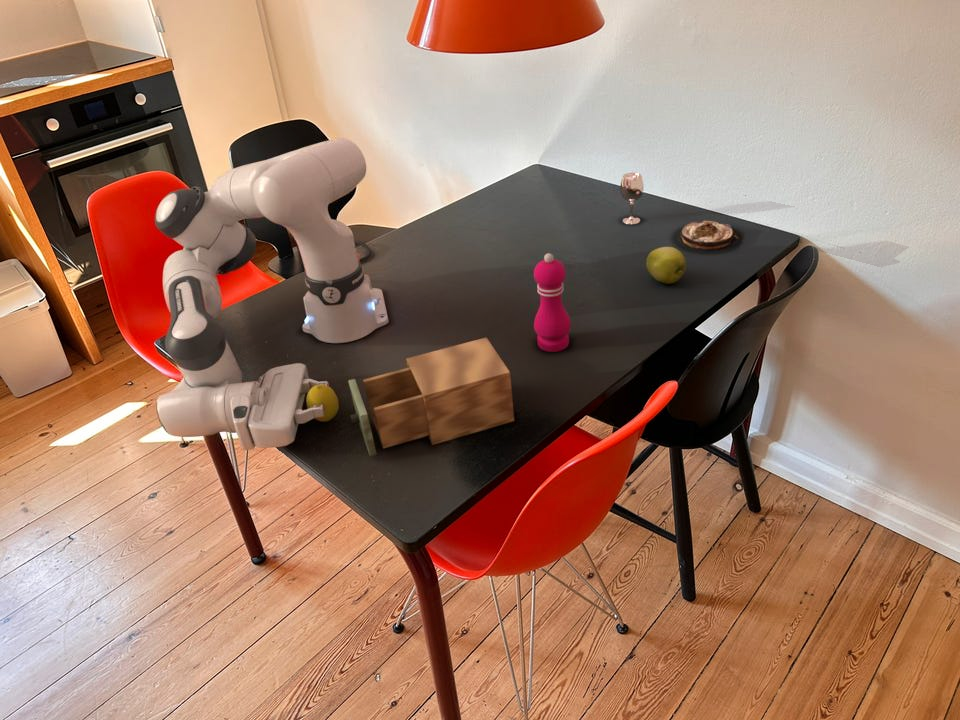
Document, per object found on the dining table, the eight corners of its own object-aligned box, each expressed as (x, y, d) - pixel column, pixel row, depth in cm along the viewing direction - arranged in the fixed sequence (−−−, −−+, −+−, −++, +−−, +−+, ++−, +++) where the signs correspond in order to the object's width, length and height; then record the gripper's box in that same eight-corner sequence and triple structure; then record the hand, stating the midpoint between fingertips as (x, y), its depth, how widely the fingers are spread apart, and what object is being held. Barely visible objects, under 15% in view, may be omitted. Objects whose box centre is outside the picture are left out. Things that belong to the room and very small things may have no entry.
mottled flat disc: (724, 259, 176) (725, 242, 174) (664, 246, 185) (665, 230, 182) (749, 234, 185) (751, 218, 183) (691, 222, 194) (692, 207, 191)
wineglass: (616, 218, 199) (616, 174, 192) (636, 214, 200) (637, 170, 193) (626, 227, 194) (626, 182, 187) (646, 222, 195) (648, 177, 189)
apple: (671, 294, 165) (673, 261, 160) (638, 281, 171) (639, 249, 166) (694, 281, 169) (696, 248, 164) (661, 268, 175) (662, 236, 170)
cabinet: (432, 445, 131) (423, 395, 125) (414, 405, 141) (405, 358, 135) (514, 421, 135) (510, 372, 129) (491, 384, 144) (486, 337, 138)
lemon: (339, 429, 137) (330, 393, 133) (309, 431, 138) (299, 395, 133) (344, 410, 142) (335, 375, 137) (315, 412, 142) (305, 377, 138)
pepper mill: (568, 332, 156) (565, 243, 145) (573, 351, 150) (570, 260, 139) (533, 335, 157) (527, 247, 145) (537, 355, 151) (531, 264, 139)
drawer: (362, 458, 129) (352, 417, 124) (351, 421, 137) (341, 382, 133) (449, 433, 132) (442, 393, 127) (431, 399, 141) (425, 359, 136)
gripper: (264, 386, 148) (336, 379, 147) (242, 457, 131) (322, 448, 130) (256, 359, 144) (329, 351, 144) (232, 428, 127) (314, 419, 127)
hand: (326, 398), depth 137 cm, fingers closed on lemon, 5 cm apart
